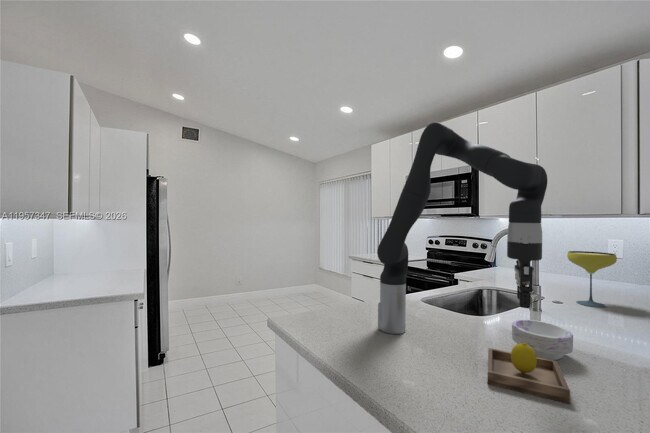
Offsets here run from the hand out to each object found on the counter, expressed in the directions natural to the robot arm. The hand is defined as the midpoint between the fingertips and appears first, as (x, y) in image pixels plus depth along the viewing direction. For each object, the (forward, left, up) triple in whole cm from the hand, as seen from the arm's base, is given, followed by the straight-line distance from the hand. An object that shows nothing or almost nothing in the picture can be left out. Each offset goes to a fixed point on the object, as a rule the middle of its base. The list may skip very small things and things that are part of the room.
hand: (523, 303), depth 77 cm
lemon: (0, 0, -18) cm, 18 cm away
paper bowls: (+6, +20, -19) cm, 29 cm away
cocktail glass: (+35, +99, -19) cm, 107 cm away
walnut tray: (0, 0, -19) cm, 19 cm away
